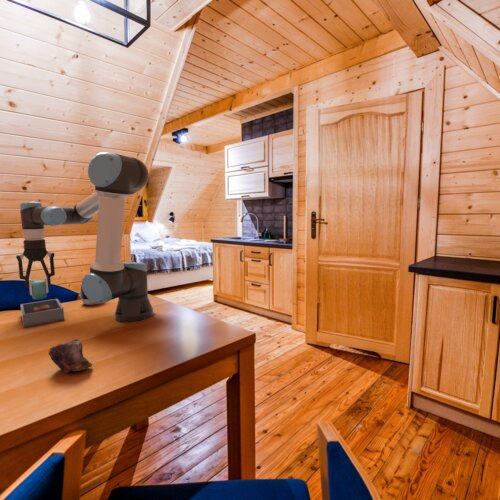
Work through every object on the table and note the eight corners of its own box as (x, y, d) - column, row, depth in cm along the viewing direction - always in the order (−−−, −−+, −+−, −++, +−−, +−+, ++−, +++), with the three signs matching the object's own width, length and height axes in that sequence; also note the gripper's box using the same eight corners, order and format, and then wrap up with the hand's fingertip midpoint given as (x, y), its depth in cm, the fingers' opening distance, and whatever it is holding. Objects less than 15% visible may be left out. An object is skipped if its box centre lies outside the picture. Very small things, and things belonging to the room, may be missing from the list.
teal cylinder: (48, 295, 136) (47, 280, 136) (43, 299, 132) (41, 283, 131) (36, 296, 136) (34, 280, 135) (30, 299, 131) (28, 283, 130)
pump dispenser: (109, 302, 153) (107, 271, 151) (88, 308, 144) (86, 275, 142) (96, 299, 158) (94, 269, 156) (76, 304, 149) (73, 273, 147)
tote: (64, 319, 129) (63, 307, 128) (23, 327, 120) (22, 315, 120) (58, 309, 142) (57, 298, 142) (21, 315, 134) (20, 304, 133)
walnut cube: (48, 316, 132) (47, 304, 131) (51, 318, 128) (49, 307, 127) (34, 318, 128) (33, 307, 128) (36, 321, 125) (35, 309, 124)
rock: (88, 361, 96) (49, 370, 90) (86, 333, 96) (47, 340, 90) (94, 371, 86) (51, 381, 80) (92, 340, 86) (48, 348, 80)
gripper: (58, 237, 139) (62, 288, 142) (7, 239, 128) (12, 295, 131) (60, 238, 133) (64, 291, 136) (7, 241, 122) (13, 299, 125)
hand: (39, 293), depth 133 cm, fingers closed on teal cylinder, 5 cm apart
